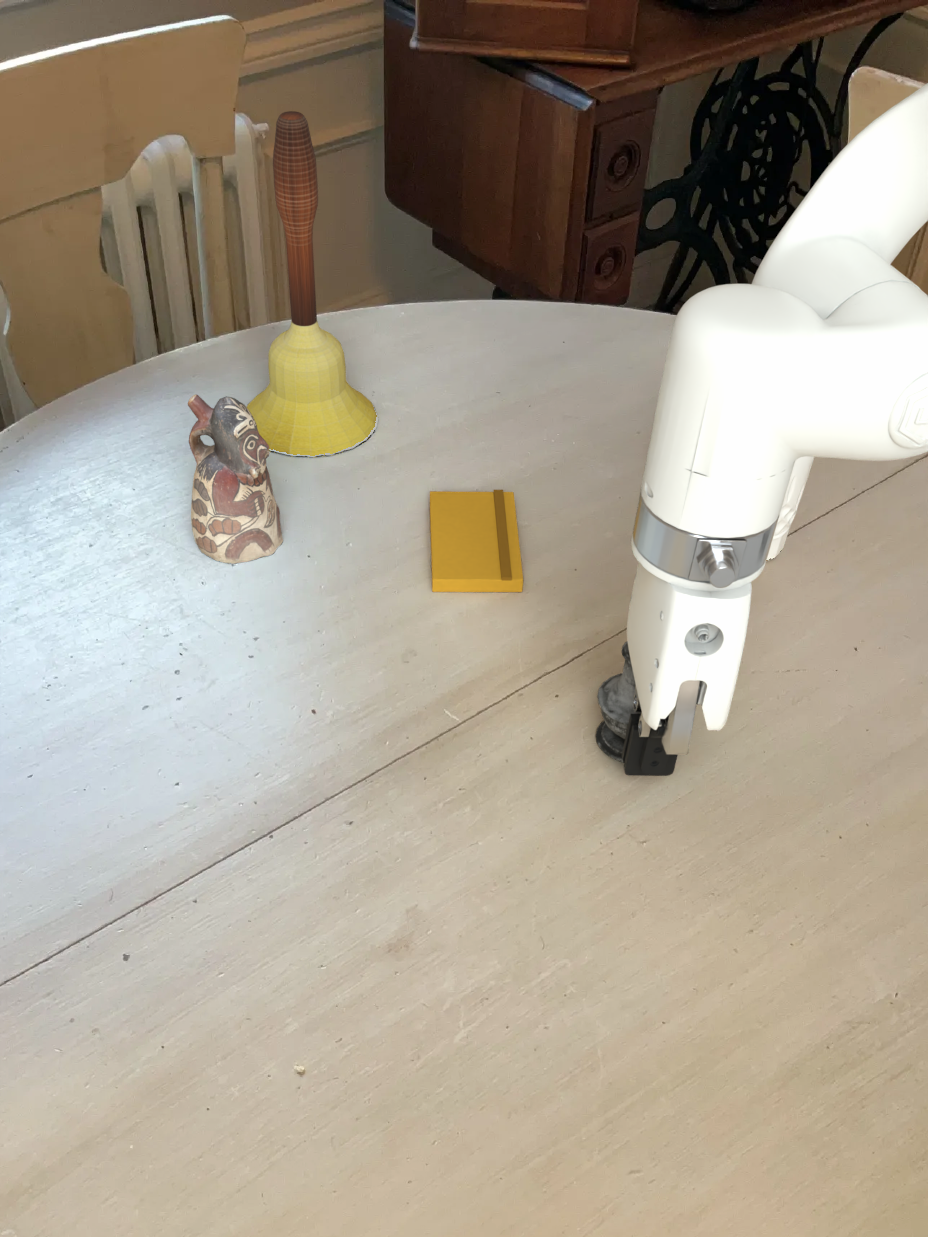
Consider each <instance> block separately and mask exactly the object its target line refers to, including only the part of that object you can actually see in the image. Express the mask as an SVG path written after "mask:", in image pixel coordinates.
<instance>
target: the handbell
mask: <svg viewBox="0 0 928 1237" xmlns="http://www.w3.org/2000/svg"><path fill="white" fill-rule="evenodd" d="M272 152H273V153H272V170H273V172H272V173H273V190H274V200H275V206H276V208H277V211H278V214H279V217H280V219H281V222H282V225H283V229H284V236H285V237H284V238H285V247H286V260H287V274H288V292H289V305H290V319H291V321H290V326H289V328H288V329H287V330H285V331H282V332H281V333H280V334H279V335H278V336H277V337H276V338H274V340H273V341H272V342H271V343H270V348H269V350H268V353H267V354H268V355H267V356H268V358H267V359H268V369H267V370H268V378H269V379H268V380H269V383H268V384H267V386H266V388H265V389H263V391H261V392H260V393H258V394H257V395H255V397H254V398H253V399H252V400H251V401H250V402H249V403H248V404H247V405H246V407H247V408H248V410H249V411H250V412H251V414H252V416H253V418H254V420H255V422H256V425H257V429H258V432H259V434H260V436H261V437H262V438H263V439H264V440H265V441H266V442H267V444H268V445H269V449H271V450H273V449H274V450H276V451H279V452H286V453H287V454H293V455H297V454H300V455H310V456H315V455H319V454H324V455H325V453H330V454H333V453H336V452H338V451H341V450H343V449H346V448H348V447H352V446H354V445H355V444H356V443H358V442H361V441H363V440H364V439H365V438H366V437H368V435H369V434H370V432H371V430H373V428H374V427H375V423H376V422H375V421H376V417H377V415H378V414H377V415H376V413H377V411H376V412H375V410H376V409H375V410H374V408H375V406H374V404H373V403H372V401H371V400H370V399H368V398H367V397H366V396H365V395H364V394H363V393H362V392H360V391H358V390H357V389H355V388H354V387H353V386H351V385H350V384H349V382H348V381H347V366H346V358H345V352H344V349H343V346H342V344H341V342H340V340H338V339H337V338H336V337H335V336H334V335H333V334H332V333H331V332H329V331H327V330H325V329H323V328H321V327H320V324H319V322H318V316H317V315H318V314H317V295H316V294H317V293H316V278H315V275H316V274H315V260H314V259H315V258H314V256H315V255H314V240H313V239H314V231H313V230H314V225H315V224H314V223H315V220H316V215H317V211H318V206H319V185H318V184H319V183H318V182H319V181H318V170H317V158H316V153H315V149H314V145H313V141H312V137H311V131H310V127H309V122H308V119H307V118H306V116H305V115H304V114H303V113H302V112H299V111H293V110H291V111H290V110H288V111H284V112H282V113H281V114H280V113H279V116H278V118H277V119H276V122H275V133H274V145H273V151H272ZM373 406H374V407H373Z"/></svg>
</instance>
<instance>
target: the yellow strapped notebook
mask: <svg viewBox="0 0 928 1237" xmlns="http://www.w3.org/2000/svg"><path fill="white" fill-rule="evenodd" d="M429 530H430V531H429V532H430V534H429V536H430V560H431V561H430V562H431V563H430V564H431V565H430V566H431V590H432V591H431V592H432V593H523V590H524V589H523V588H524V573H523V564H522V563H523V562H522V554H521V547H520V536H519V529H518V519H517V512H516V502H515V491H504V489H493V491H448V490H447V491H444V490H442V491H440V490H439V491H438V490H437V491H436V490H435V491H431V490H430V491H429Z"/></svg>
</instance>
